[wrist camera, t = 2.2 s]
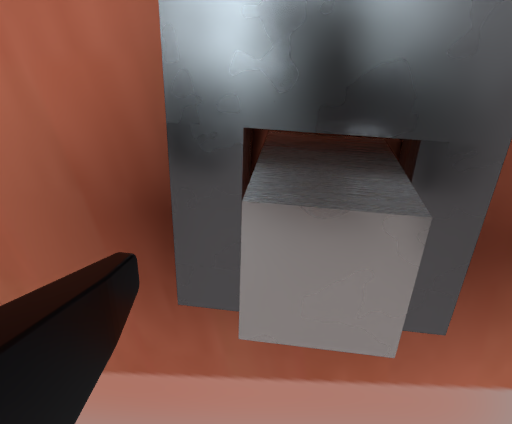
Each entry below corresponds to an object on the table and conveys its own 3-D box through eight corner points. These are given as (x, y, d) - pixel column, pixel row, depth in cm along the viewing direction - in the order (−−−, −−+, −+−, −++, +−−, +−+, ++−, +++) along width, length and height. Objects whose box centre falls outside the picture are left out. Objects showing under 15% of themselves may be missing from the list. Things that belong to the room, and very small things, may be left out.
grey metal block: (263, 230, 16) (238, 338, 10) (268, 131, 14) (242, 200, 9) (365, 239, 15) (394, 358, 10) (384, 139, 13) (432, 217, 8)
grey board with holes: (191, 274, 17) (175, 309, 15) (154, -614, 8) (97, -845, 6) (430, 300, 16) (447, 341, 14) (722, -679, 7) (904, -989, 5)
